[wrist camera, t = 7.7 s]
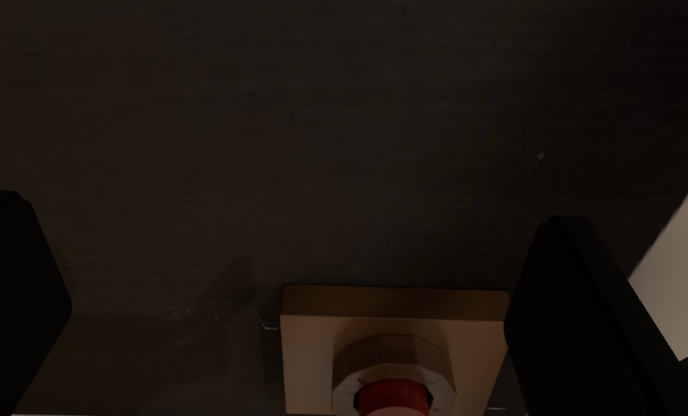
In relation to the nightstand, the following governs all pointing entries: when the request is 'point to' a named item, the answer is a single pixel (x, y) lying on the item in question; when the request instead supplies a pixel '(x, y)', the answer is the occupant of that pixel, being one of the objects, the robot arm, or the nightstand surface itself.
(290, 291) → the red push button box
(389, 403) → the button
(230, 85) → the nightstand surface
